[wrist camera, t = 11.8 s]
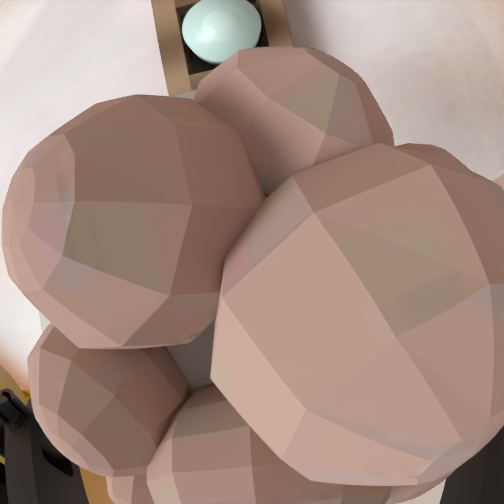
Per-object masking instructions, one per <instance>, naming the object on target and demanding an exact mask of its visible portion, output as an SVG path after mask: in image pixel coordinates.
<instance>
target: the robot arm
mask: <svg viewBox="0 0 504 504" xmlns="http://www.w3.org/2000/svg"><path fill="white" fill-rule="evenodd" d="M0 455H1V456H2V457H3V458H5V465H4V464H2V463H1V462H0V504H89V502H88V499H87V495H86V492H85V488H84V485H83V481H82V477H81V473H80V469H79V466H78V465H77V464H75V463H73V462H72V461H70V460H69V459H68V458H67V457H65V456H64V455H63V454H62V453H61V452H60V451H59V450H58V449H57V448H56V447H55V446H54V445H53V444H52V443H51V442H50V440H49V439H48V438H47V436H46V435H45V433H44V431H43V430H42V428H41V427H40V425H39V423H38V422H37V420H36V418H35V415H34V412H33V408H32V402H31V398H30V400H29V402H28V404H27V405H25V404H24V403H23V402H22V401H21V400H20V399H19V398H18V397H17V396H16V395H15V394H14V393H13V391H12V390H10V389H3V390H1V391H0ZM440 504H504V425H503V427H502V428H501V429H500V430H499V432H498V433H497V434H496V435H495V436H494V437H493V438H492V439H491V440H490V441H489V442H488V443H487V444H486V445H485V446H484V447H483V448H482V449H481V450H480V451H479V452H478V453H476V454H475V455H474V456H473V457H471V458H470V459H469V460H467V461H466V462H465V463H463V464H462V465H461V466H459V467H458V468H456V469H455V470H454V472H453V473H452V474H451V475H450V476H449V477H447V478H446V482H445V486H444V490H443V493H442V497H441V500H440Z"/></svg>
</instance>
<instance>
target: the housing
mask: <svg viewBox="0 0 504 504" xmlns="http://www.w3.org/2000/svg"><path fill="white" fill-rule="evenodd" d="M200 1H201V0H151V3H152V9H153V15H154V21H155V27H156V32H157V38H158V43H159V49H160V54H161V59H162V64H163V69H164V74H165V79H166V84H167V89H168V94H169V97H174V96H177V95H180V94H184V93H187V92H190V91H193V90H197V88H198V85H199V82H200V81H201V80H202V79H203V78H205V77H206V76H207V75H208V74H209V73H210V72H212V71H213V70H209V71H205V72H201V73H196V74H194V73H193V68H192V63H191V58H190V53H189V48H188V45H187V43H186V42H185V40H184V37H183V33H182V25H183V18H185V16H186V14H187V13H188V11H189V10H190V9H191V8H192V7H193V6H194V5H195V4H197V3H198V2H200ZM246 1H248V2H249V3H251V4H252V5H253V4H256V9H257V11H258V13H259V16H260V19H261V30H262V35H263V39H264V44H265V47H294V46H293V41H292V37H291V33H290V28H289V24H288V20H287V16H286V12H285V8H284V4H283V0H246Z"/></svg>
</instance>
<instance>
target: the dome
mask: <svg viewBox="0 0 504 504" xmlns="http://www.w3.org/2000/svg"><path fill="white" fill-rule="evenodd" d="M260 31H261V19H260V16H259V13H258V11H257V10H256V9H255V7H254V6H253V5H252V4H251V3H249V2H248V1H246V0H201V1H200V2H198V3H197V4H195V5H194V6H193V7H192V8H191V9H190V10H189V11H188V13H187V14H186V16H185V18H184V21H183V25H182V33H183V37H184V40H185V42H186V43H187V45H188V46H189V47H190V48H191V50H192V51H193V52H194V53H195V54H196V55H197V56H198V57H199V58H200V59H201V60H203V61H204V62H206V63H208V64H211V65H216V66H219V65H220V64H221V63H223V62H224V61H225V60H227V59H228V58H229V57H230V56H232V55H233V54H234V53H236V52H237V51H238V50H243V49H249V48H256V46H257V44H258V40H259V35H260Z"/></svg>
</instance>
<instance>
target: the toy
mask: <svg viewBox="0 0 504 504" xmlns="http://www.w3.org/2000/svg"><path fill="white" fill-rule="evenodd" d="M2 248H3V253H4V258H5V262H6V266H7V271H8V275H9V277H10V278H11V279H12V281H13V282H14V283H15V284H16V286H17V287H18V288H19V289H20V291H21V292H22V293H23V294H24V295H25V296H26V298H27V299H28V300H29V301H30V302H31V303H32V304H33V305H34V306H35V307H36V308H37V309H38V310H39V314H40V321H41V327H42V332H43V334H42V335H41V337H40V338H39V340H38V342H37V343H36V345H35V346H34V348H33V350H32V351H31V353H30V355H29V356H28V374H29V385H30V394H31V402H32V408H33V412H34V415H35V418H36V420H37V422H38V423H39V425H40V427H41V428H42V430H43V431H44V433H45V435H46V436H47V438H48V439H49V440H50V442H51V443H52V444H53V445H54V446H55V447H56V448H57V449H58V450H59V451H60V452H61V453H62V454H63V455H64V456H65V457H67V458H68V459H69V460H70V461H72V462H73V463H75V464H77V465H78V466H80V467H82V468H84V469H87V470H89V471H91V472H94V473H96V474H98V475H103V476H106V480H107V488H108V495H109V497H110V498H111V499H112V501H113V502H114V503H115V504H396V503H400V502H404V501H407V500H411V499H414V498H416V497H418V496H420V495H422V494H424V493H426V492H427V491H429V490H431V489H432V488H434V487H435V486H437V485H438V484H440V483H441V482H442V481H443V480H445V479H446V478H447V477H449V476H450V475H451V474H452V473H453V472H454V470H455V469H456V468H458V467H459V466H461V465H462V464H463V463H465V462H466V461H467V460H469V459H470V458H471V457H473V456H474V455H475V454H476V453H478V452H479V451H480V450H481V449H482V448H483V447H484V446H485V445H486V444H487V443H488V442H489V441H490V440H491V439H492V438H493V437H494V436H495V435H496V434H497V433H498V432H499V430H500V429H501V428H502V427H503V425H504V191H503V189H502V187H501V186H499V185H498V184H496V183H494V182H492V181H490V180H488V179H486V178H484V177H482V176H480V175H478V174H476V173H474V172H472V171H470V170H469V169H468V168H467V167H466V166H465V165H463V164H462V163H461V162H460V161H459V160H458V159H456V158H455V157H454V156H453V155H451V154H450V153H449V152H447V151H446V150H444V149H442V148H439V147H436V146H433V145H426V144H411V143H407V144H403V145H400V146H394V140H393V132H392V130H391V128H390V126H389V124H388V122H387V120H386V118H385V116H384V114H383V113H382V111H381V109H380V107H379V105H378V103H377V102H376V100H375V98H374V97H373V95H372V93H371V91H370V90H369V88H368V86H367V85H366V83H365V82H364V81H363V79H362V78H361V77H360V76H359V75H358V74H357V73H356V72H354V71H353V70H352V69H351V68H349V67H348V66H347V65H345V64H344V63H342V62H340V61H339V60H337V59H335V58H334V57H332V56H330V55H327V54H325V53H323V52H321V51H318V50H315V49H312V48H308V47H256V48H249V49H243V50H238V51H237V52H236V53H234V54H233V55H232V56H230V57H229V58H228V59H227V60H225V61H224V62H223V63H221V64H220V65H219V66H218V67H217V68H215V69H214V70H213V71H212V72H210V73H209V74H208V75H207V76H206V77H205V78H203V79H202V80H201V81H200V82H199V85H198V88H197V90H193V91H190V92H187V93H184V94H180V95H177V96H174V97H168V96H155V95H131V96H126V97H122V98H117V99H113V100H109V101H104V102H100V103H97V104H95V105H93V106H92V107H90V108H88V109H87V110H85V111H84V112H82V113H81V114H79V115H78V116H76V117H74V118H73V119H72V120H70V121H69V122H67V123H66V124H64V125H63V126H61V127H60V128H59V129H57V130H56V131H54V132H53V133H52V134H50V135H49V136H48V137H46V138H45V139H44V140H43V141H41V142H40V143H39V144H37V145H36V146H35V147H34V148H33V149H31V150H30V151H29V152H28V153H27V155H26V156H25V158H24V159H23V161H22V162H21V164H20V165H19V167H18V169H17V170H16V172H15V174H14V175H13V177H12V180H11V183H10V186H9V189H8V192H7V196H6V199H5V202H4V206H3V213H2Z"/></svg>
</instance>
